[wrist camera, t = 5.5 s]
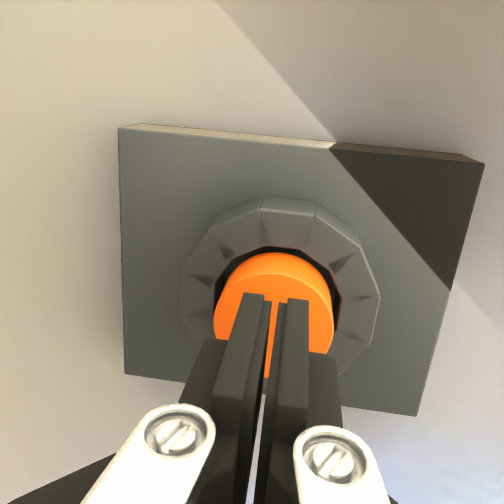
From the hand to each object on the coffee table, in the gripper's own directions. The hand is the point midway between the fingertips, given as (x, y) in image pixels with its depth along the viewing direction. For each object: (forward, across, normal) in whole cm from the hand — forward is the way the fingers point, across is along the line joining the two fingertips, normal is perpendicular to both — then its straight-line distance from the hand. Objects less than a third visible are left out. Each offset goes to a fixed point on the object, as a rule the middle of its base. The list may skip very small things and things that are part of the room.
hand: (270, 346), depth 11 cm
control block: (+7, 0, +1) cm, 7 cm away
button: (+4, 0, +1) cm, 4 cm away
